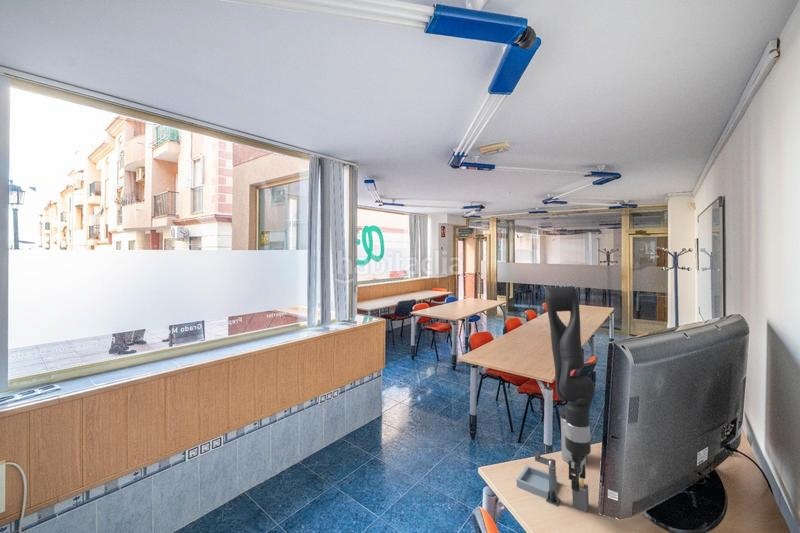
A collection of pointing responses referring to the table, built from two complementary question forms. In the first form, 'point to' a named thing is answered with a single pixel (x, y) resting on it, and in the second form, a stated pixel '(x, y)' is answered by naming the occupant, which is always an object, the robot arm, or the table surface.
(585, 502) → the plug block
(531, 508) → the table surface
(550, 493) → the hook post
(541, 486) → the bay
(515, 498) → the table surface
